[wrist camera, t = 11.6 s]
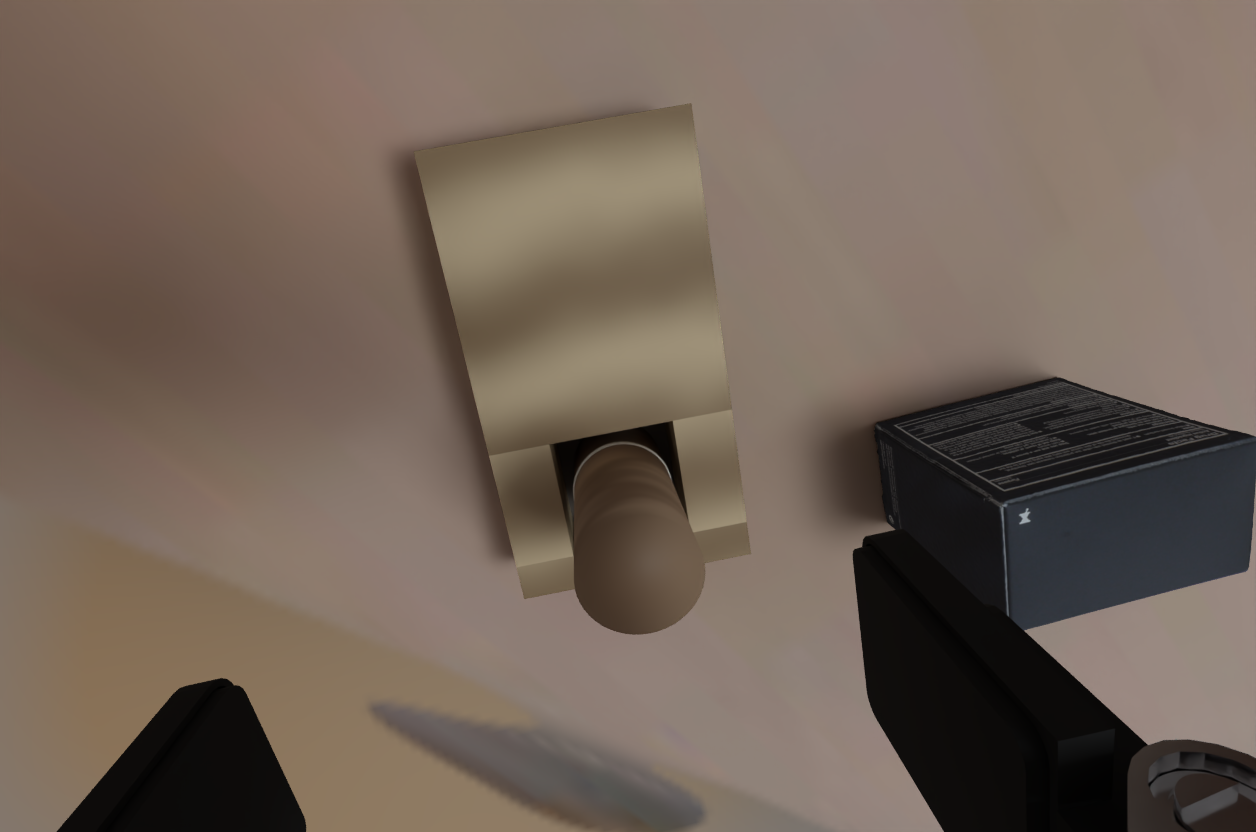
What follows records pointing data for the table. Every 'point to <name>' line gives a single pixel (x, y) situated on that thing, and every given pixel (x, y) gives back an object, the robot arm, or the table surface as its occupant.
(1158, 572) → the small box
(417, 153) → the board
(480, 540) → the table surface
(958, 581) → the robot arm
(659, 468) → the peg
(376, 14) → the table surface
